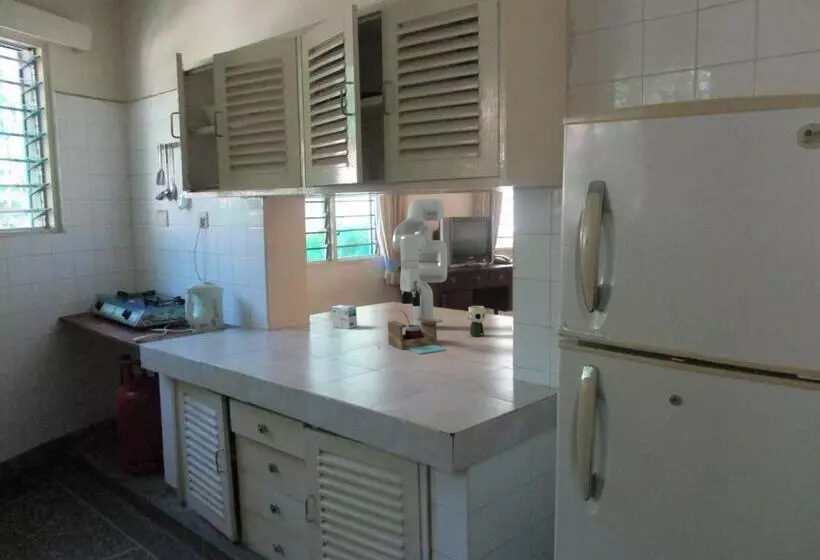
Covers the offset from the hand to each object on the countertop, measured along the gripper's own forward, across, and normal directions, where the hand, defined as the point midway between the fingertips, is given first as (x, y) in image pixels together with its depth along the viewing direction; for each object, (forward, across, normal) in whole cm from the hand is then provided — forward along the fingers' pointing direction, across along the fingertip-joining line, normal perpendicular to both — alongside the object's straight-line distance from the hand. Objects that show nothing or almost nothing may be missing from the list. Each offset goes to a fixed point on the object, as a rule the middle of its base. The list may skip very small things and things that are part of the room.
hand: (411, 304), depth 270 cm
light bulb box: (+16, -55, -9) cm, 58 cm away
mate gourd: (+17, -1, +1) cm, 17 cm away
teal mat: (+17, +12, +1) cm, 21 cm away
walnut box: (+17, -1, +1) cm, 17 cm away
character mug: (+17, 0, +33) cm, 37 cm away
